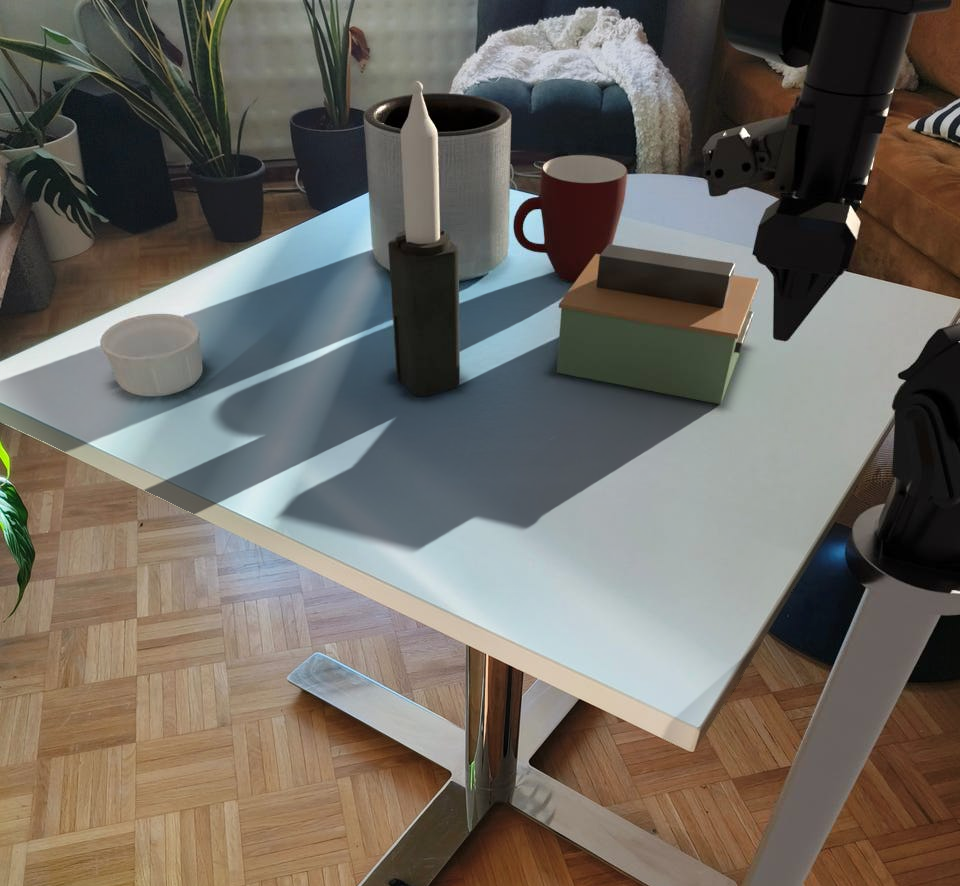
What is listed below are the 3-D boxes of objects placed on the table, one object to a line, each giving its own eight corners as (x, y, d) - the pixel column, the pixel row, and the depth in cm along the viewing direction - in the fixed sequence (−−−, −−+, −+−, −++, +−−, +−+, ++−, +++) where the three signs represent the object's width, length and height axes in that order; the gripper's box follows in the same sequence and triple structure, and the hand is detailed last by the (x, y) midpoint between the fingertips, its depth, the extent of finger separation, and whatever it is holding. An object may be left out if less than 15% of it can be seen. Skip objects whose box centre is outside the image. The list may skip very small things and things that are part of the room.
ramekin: (222, 384, 85) (213, 341, 82) (131, 410, 81) (117, 366, 78) (188, 347, 90) (178, 305, 87) (100, 370, 87) (87, 328, 84)
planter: (344, 264, 105) (330, 115, 94) (430, 223, 114) (426, 83, 103) (452, 300, 98) (450, 145, 87) (534, 254, 107) (541, 108, 96)
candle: (464, 385, 85) (462, 84, 68) (416, 399, 83) (402, 93, 66) (439, 362, 88) (431, 69, 71) (392, 375, 86) (372, 77, 69)
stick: (596, 287, 85) (599, 255, 82) (604, 275, 87) (607, 243, 84) (722, 308, 82) (729, 275, 80) (728, 295, 84) (735, 263, 82)
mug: (525, 297, 99) (529, 188, 91) (503, 264, 105) (506, 159, 97) (627, 287, 101) (640, 179, 93) (600, 255, 107) (610, 152, 99)
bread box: (747, 347, 91) (762, 279, 86) (725, 406, 83) (741, 335, 78) (589, 320, 95) (595, 253, 90) (553, 373, 87) (558, 303, 82)
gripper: (747, 42, 67) (707, 254, 78) (698, 108, 54) (659, 348, 66) (903, 57, 64) (839, 274, 75) (890, 129, 52) (815, 376, 63)
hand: (788, 314), depth 70 cm, fingers open, 9 cm apart
